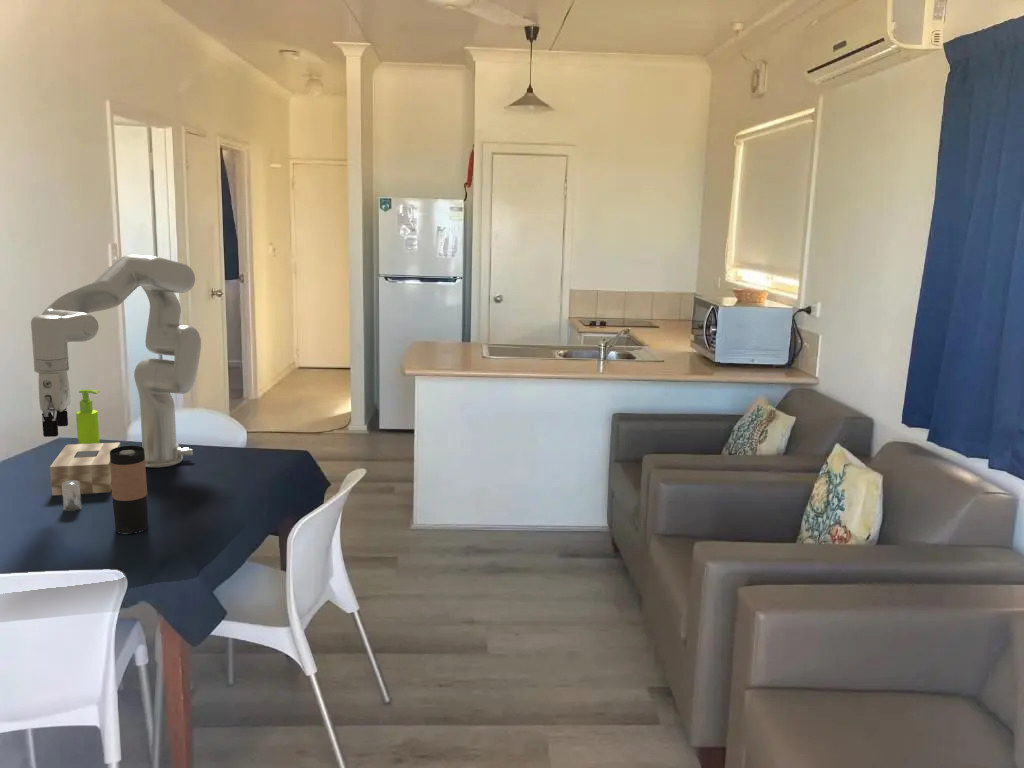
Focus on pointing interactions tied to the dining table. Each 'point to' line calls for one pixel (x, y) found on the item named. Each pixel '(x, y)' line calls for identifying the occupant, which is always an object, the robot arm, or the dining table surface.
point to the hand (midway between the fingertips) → (56, 431)
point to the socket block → (83, 468)
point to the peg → (71, 495)
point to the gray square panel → (87, 454)
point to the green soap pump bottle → (87, 420)
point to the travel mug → (129, 488)
